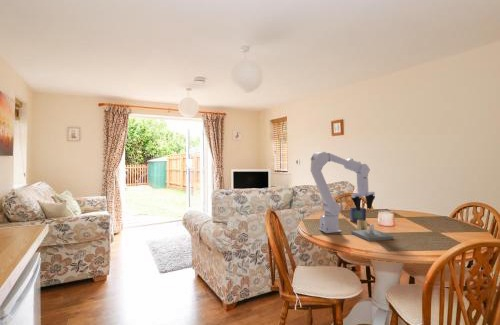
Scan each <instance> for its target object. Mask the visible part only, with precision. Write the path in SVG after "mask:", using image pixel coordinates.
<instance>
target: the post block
mask: <svg viewBox="0 0 500 325" xmlns="http://www.w3.org/2000/svg"><path fill="white" fill-rule="evenodd" d="M368 225H369V227H368V228H369V229H367V230H357V229H356V230H350V232H351V233H350V234H351V235H353V236H356V237H358V238H361V239H363V240H364V241H367V242H374V241H375V242H376V241H387V240H394V235H392V234H388V233H387V232H383V231H380V230H377V229H374V228H375V227H374V226H375V225H374V224H372V223H370V224H368Z"/></svg>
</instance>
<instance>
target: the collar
mask: <svg viewBox="0 0 500 325" xmlns="http://www.w3.org/2000/svg"><path fill="white" fill-rule="evenodd" d="M357 230H368V220H357V222H356V231H357Z"/></svg>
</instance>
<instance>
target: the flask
mask: <svg viewBox="0 0 500 325" xmlns="http://www.w3.org/2000/svg"><path fill="white" fill-rule="evenodd" d="M366 214H367V211H366V208H365V207H363V206H362V207H360V210H357V209H356V206H355V207H354V206H352V207H350V210H349V222H352V223H353V222H354V223H357V220H366V219H367V217H366V216H367V215H366ZM366 221H367V220H366Z"/></svg>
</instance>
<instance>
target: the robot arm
mask: <svg viewBox="0 0 500 325" xmlns="http://www.w3.org/2000/svg"><path fill="white" fill-rule="evenodd" d="M328 162H333V163H336V164H340V165H342V166H343V167H344V169H346V170H348V171H351V172H355V174H356V186H357V187H356V188H357V192H355V193H351V201H353V203H354V206H355V207H356V209H357V210H360V208H361V202H362V197H363V198H364V197H365V200H366V207H367V209H369V210H371V209H372V205H373V202H374V200H375V198H376V196H375V194H376V193H375V191H369V173H370V171H371V169H370V167H369V165H368V164H366V163H362V162H361V161H357V160H354V158H352V157H351V158H347V159H344V158H342V157H340V156H338V155H335V154H333V153H331V152H326V151H320V152H319V151H317V152H314V153H313V154H312V156H311V158H310V173H311V175H312V177H313V180H314V182H315V184H316V187H317V189H318V191H319V194H320V196H321V198H322V200H321V203H322V210H323V211H324V214H323V215H321V216H320V217H319V230H320V231H321V232H324V233H326V234H330V233H342V230H341V229H339V215H340V213H341V207H340V204H338V203H337V201H336V199H334V197H333V196H332V193H331V191H330V189H329V187H328V184H327V182H326V179H325V177H324V174H323V172H322V170H323V168H324V167H325V165H326V164H327V163H328Z"/></svg>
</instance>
